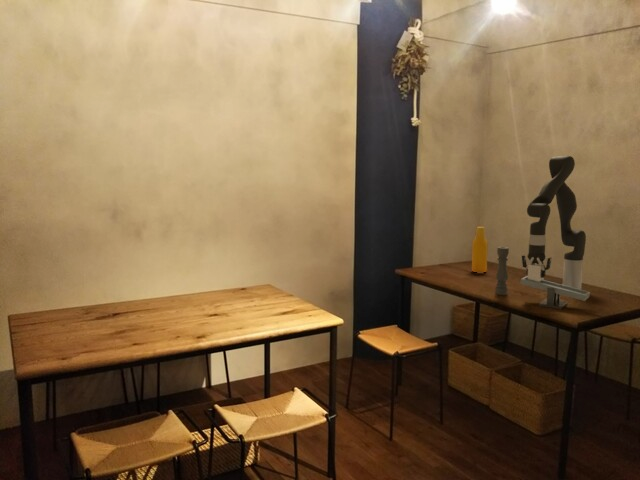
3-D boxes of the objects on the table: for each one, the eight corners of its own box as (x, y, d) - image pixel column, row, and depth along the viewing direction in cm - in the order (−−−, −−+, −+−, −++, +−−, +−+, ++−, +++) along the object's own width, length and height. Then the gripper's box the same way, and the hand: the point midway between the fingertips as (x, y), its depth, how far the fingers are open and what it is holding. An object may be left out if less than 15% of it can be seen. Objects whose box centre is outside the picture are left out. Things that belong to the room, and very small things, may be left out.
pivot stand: (545, 300, 267) (546, 282, 266) (567, 303, 261) (568, 285, 260) (538, 305, 258) (539, 287, 256) (560, 309, 252) (561, 290, 250)
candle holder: (508, 295, 278) (510, 248, 275) (495, 295, 280) (497, 248, 276) (506, 292, 284) (508, 246, 281) (494, 292, 286) (496, 246, 282)
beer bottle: (469, 270, 342) (470, 226, 338) (483, 270, 343) (484, 226, 339) (475, 273, 333) (476, 228, 329) (489, 273, 334) (490, 227, 330)
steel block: (531, 278, 268) (531, 262, 266) (543, 279, 264) (544, 263, 263) (527, 280, 263) (528, 264, 262) (540, 281, 259) (540, 265, 258)
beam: (525, 280, 271) (526, 275, 270) (588, 297, 253) (590, 291, 252) (520, 283, 264) (521, 278, 263) (584, 301, 246) (586, 295, 245)
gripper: (554, 243, 259) (552, 277, 262) (524, 241, 268) (523, 273, 271) (550, 245, 253) (548, 280, 256) (519, 243, 262) (518, 276, 265)
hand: (535, 276), depth 263 cm, fingers closed on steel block, 6 cm apart
